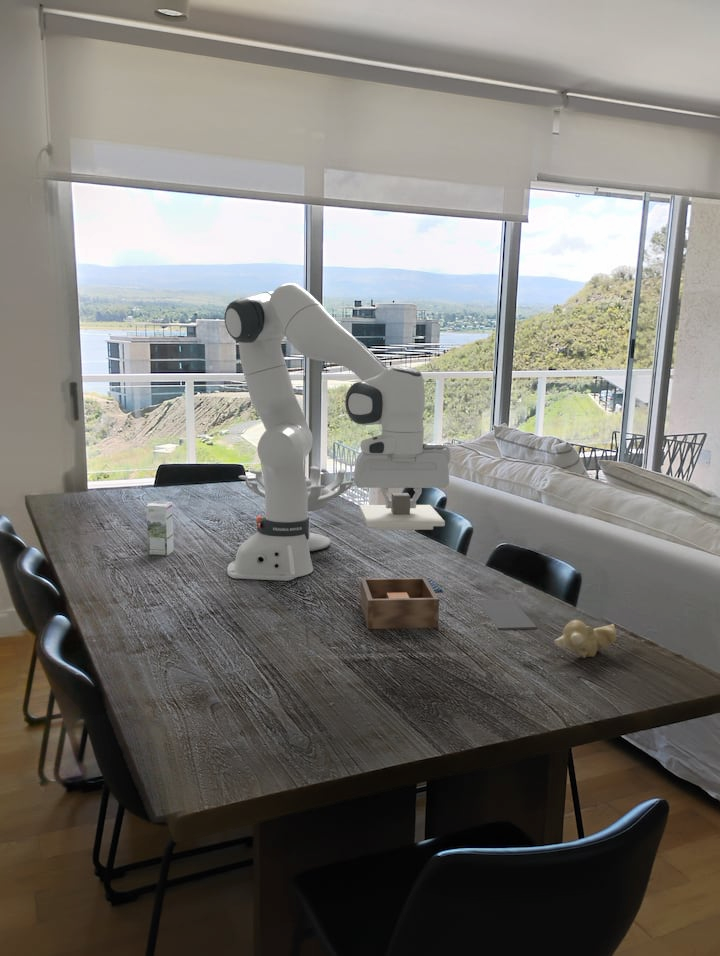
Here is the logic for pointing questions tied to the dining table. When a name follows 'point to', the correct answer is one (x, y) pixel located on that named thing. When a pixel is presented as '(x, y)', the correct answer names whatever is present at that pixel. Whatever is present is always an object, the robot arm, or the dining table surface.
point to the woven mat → (434, 585)
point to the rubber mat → (506, 614)
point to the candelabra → (310, 497)
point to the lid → (401, 515)
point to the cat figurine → (586, 638)
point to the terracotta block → (397, 595)
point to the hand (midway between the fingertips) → (400, 507)
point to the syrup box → (160, 528)
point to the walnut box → (399, 603)
